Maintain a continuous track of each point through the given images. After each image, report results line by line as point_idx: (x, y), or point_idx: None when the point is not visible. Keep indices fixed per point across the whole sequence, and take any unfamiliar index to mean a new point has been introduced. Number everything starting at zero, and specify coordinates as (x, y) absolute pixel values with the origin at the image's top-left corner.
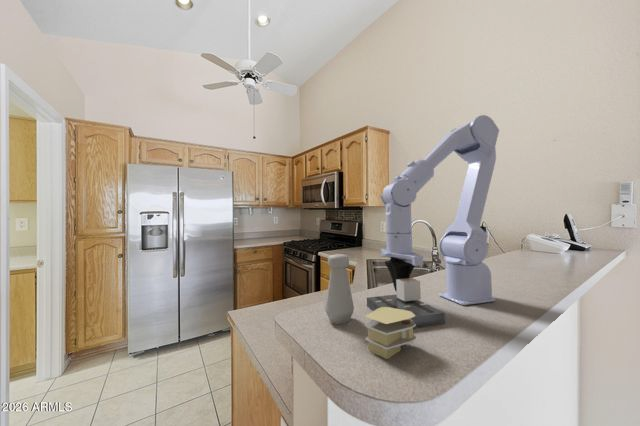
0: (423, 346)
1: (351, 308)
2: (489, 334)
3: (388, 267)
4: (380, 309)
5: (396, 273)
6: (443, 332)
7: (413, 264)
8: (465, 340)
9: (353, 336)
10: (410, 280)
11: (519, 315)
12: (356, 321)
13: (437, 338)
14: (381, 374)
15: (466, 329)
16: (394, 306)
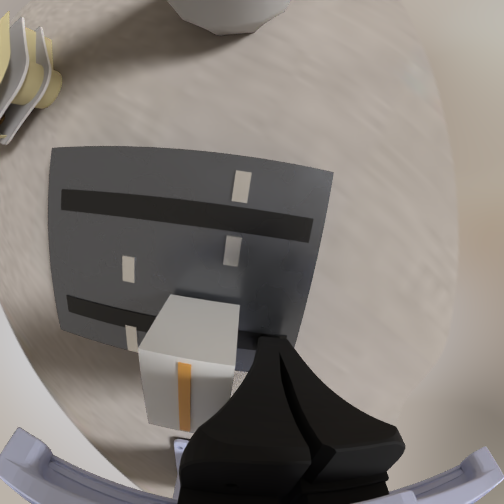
0: (12, 164)
1: (171, 3)
2: (32, 338)
3: (350, 418)
4: (2, 56)
5: (232, 399)
6: (40, 264)
7: (26, 437)
8: (14, 273)
9: (112, 17)
10: (173, 404)
11: (108, 446)
12: (192, 49)
13: (23, 223)
14: None
15: (49, 325)
16: (145, 214)
